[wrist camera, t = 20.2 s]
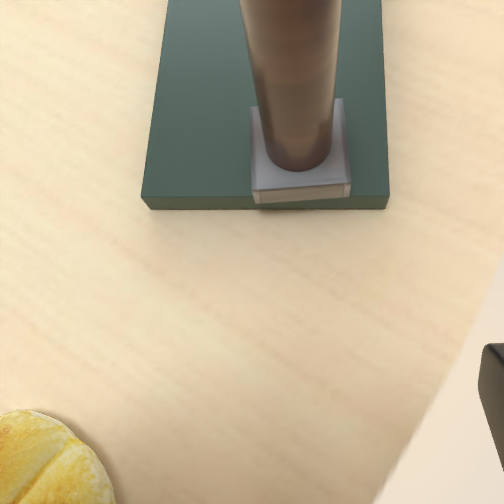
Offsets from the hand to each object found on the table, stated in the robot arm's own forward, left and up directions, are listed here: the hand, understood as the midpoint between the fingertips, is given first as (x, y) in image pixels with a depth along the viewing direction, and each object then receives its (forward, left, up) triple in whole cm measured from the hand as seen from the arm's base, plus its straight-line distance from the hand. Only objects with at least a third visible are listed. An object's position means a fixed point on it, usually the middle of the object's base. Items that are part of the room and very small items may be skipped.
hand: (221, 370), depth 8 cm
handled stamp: (+4, -10, -12) cm, 16 cm away
